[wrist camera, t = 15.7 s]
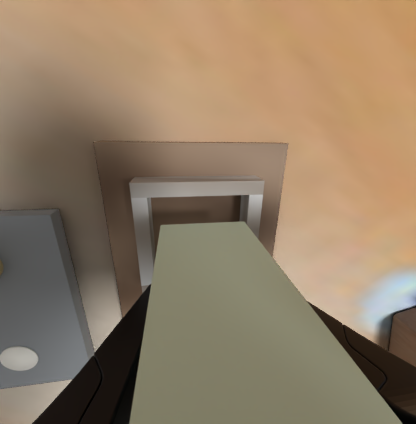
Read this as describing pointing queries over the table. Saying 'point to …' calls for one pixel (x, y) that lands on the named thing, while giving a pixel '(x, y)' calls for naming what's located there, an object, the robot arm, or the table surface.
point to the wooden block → (404, 336)
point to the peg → (240, 341)
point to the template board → (39, 302)
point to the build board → (183, 196)
